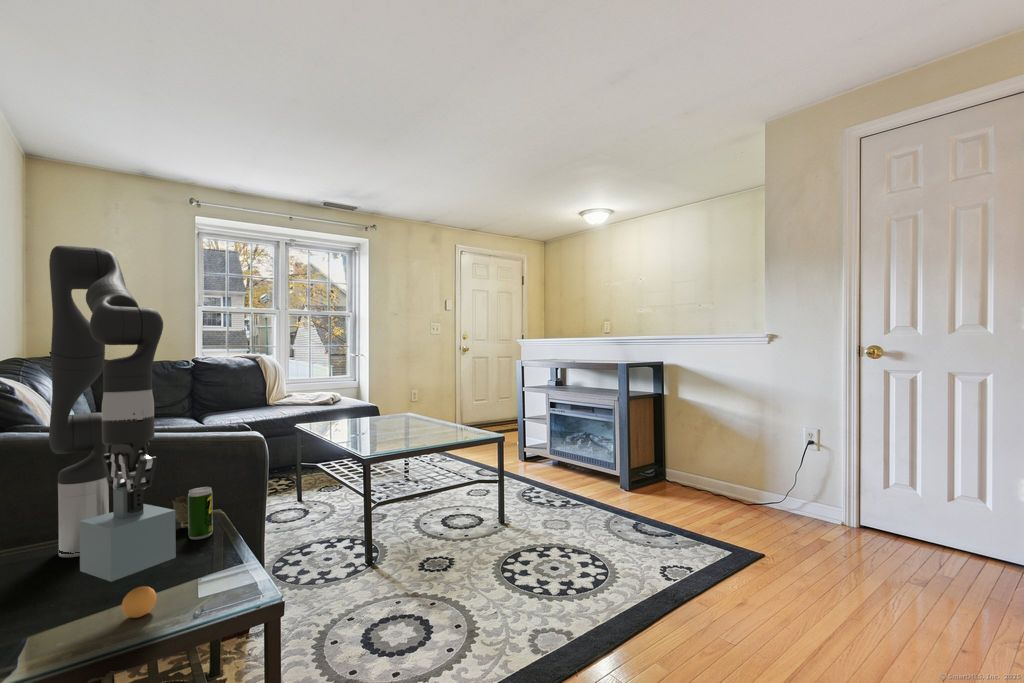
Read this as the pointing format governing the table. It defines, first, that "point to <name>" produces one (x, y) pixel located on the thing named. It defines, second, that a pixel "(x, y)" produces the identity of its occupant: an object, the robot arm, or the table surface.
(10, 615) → the table surface
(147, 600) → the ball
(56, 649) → the table surface
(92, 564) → the blue-grey box with knob
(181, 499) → the cup
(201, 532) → the beer can
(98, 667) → the table surface
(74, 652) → the table surface
